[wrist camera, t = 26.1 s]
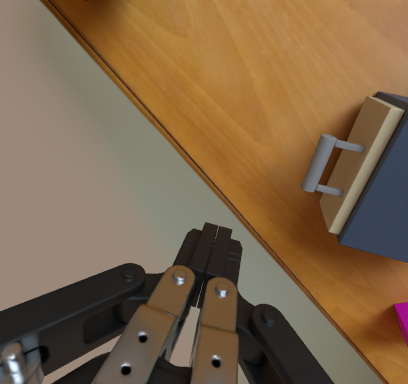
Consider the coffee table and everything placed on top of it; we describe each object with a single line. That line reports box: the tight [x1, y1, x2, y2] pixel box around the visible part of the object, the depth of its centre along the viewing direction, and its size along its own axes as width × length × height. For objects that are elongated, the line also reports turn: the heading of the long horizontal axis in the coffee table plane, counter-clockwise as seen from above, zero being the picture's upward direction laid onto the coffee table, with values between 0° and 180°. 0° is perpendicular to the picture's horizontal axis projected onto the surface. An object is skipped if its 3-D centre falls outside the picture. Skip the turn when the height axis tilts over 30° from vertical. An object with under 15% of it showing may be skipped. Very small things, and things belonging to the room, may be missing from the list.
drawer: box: [301, 96, 405, 235], centre depth 29 cm, size 18×14×7 cm
